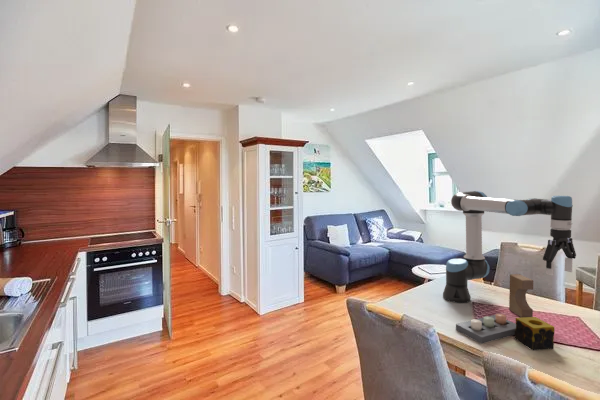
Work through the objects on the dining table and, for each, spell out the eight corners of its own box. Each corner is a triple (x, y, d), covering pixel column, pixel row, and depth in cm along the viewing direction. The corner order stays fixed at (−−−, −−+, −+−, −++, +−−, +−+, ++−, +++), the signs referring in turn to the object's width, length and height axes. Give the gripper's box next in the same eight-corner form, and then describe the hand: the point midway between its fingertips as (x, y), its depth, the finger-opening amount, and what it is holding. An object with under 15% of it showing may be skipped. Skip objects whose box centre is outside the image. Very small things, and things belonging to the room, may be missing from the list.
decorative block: (533, 318, 162) (534, 280, 160) (521, 318, 162) (522, 280, 161) (519, 309, 173) (520, 274, 171) (508, 309, 173) (509, 274, 172)
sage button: (481, 325, 151) (481, 317, 150) (487, 323, 152) (488, 315, 152) (489, 329, 146) (489, 321, 146) (496, 327, 148) (496, 319, 148)
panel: (455, 329, 152) (455, 323, 151) (494, 320, 160) (495, 314, 160) (481, 343, 138) (481, 337, 138) (522, 332, 147) (522, 326, 147)
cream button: (468, 328, 148) (468, 320, 148) (475, 326, 149) (475, 318, 149) (476, 332, 144) (476, 324, 143) (483, 330, 145) (483, 322, 145)
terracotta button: (493, 322, 153) (493, 314, 153) (499, 320, 155) (500, 313, 154) (501, 326, 149) (502, 318, 149) (508, 324, 151) (508, 316, 150)
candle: (513, 338, 142) (514, 317, 141) (534, 337, 143) (535, 316, 142) (532, 351, 132) (532, 328, 131) (554, 349, 133) (555, 326, 132)
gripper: (552, 232, 138) (550, 279, 140) (586, 227, 147) (584, 272, 149) (534, 229, 145) (533, 274, 147) (568, 225, 154) (566, 267, 156)
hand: (559, 273), depth 148 cm, fingers open, 13 cm apart
